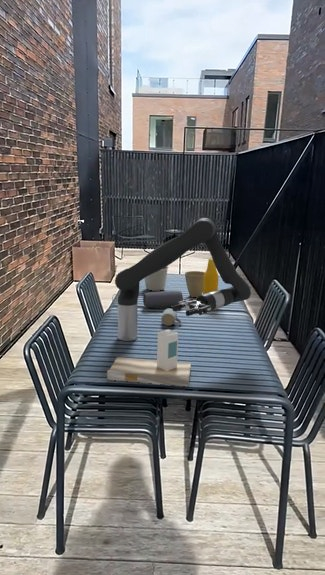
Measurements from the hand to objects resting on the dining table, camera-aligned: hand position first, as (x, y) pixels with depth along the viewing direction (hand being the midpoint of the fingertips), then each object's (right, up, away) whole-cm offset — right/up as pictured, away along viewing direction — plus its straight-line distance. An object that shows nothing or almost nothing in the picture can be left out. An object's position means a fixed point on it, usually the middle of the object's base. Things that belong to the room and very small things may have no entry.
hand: (179, 311), depth 151 cm
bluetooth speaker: (-6, -3, +85) cm, 85 cm away
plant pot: (+15, +3, +112) cm, 113 cm away
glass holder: (-27, -8, +65) cm, 71 cm away
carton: (-5, -22, 0) cm, 22 cm away
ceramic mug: (-2, -11, +56) cm, 57 cm away
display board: (-11, -24, -1) cm, 27 cm away
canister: (-12, +7, +127) cm, 127 cm away
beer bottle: (+23, -2, +93) cm, 96 cm away
